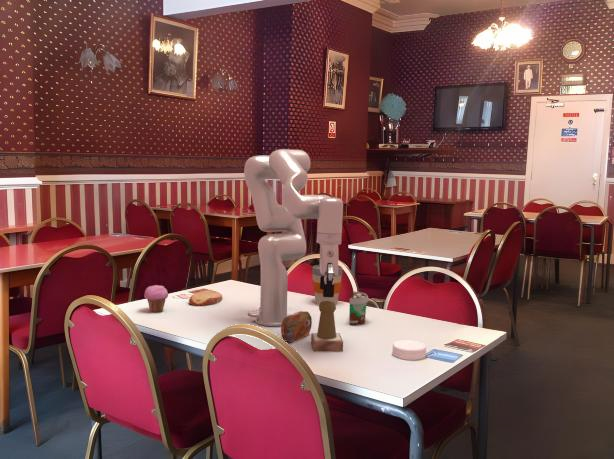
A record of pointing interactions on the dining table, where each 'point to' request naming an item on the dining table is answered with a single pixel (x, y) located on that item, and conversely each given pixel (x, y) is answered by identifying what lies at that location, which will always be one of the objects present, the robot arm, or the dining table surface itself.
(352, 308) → the food container
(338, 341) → the plinth
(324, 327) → the cork
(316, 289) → the reusable coffee cup
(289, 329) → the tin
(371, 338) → the dining table surface
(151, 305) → the cupcake
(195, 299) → the bread slice
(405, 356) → the white round disc
